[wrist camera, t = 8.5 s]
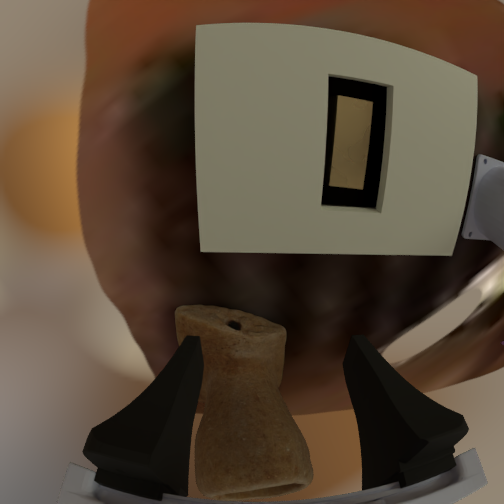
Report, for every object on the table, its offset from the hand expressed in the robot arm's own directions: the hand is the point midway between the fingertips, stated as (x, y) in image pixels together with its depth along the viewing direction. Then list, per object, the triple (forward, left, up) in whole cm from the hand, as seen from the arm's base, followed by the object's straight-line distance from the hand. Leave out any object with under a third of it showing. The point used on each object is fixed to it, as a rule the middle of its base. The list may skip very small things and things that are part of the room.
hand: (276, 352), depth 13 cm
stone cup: (+2, +12, -11) cm, 16 cm away
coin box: (-4, -9, -10) cm, 14 cm away
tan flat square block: (-4, -9, -10) cm, 14 cm away
